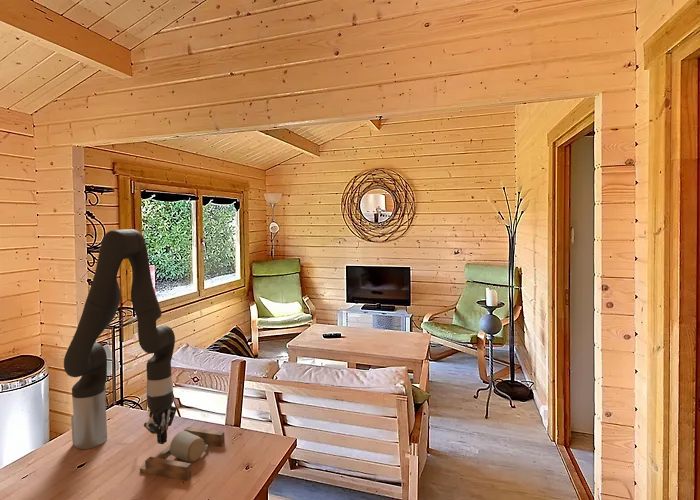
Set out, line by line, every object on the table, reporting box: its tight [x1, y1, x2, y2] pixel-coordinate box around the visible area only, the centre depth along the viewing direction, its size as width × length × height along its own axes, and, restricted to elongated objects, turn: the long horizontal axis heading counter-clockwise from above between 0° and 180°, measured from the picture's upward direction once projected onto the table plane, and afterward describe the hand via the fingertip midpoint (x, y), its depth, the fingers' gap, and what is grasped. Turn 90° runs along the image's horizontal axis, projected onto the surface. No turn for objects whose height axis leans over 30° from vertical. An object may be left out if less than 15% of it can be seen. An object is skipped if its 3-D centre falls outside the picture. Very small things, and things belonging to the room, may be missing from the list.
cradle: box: [139, 426, 226, 482], centre depth 129 cm, size 16×20×4 cm
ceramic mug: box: [169, 430, 209, 463], centre depth 130 cm, size 11×8×8 cm
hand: (162, 442), depth 131 cm, fingers closed
